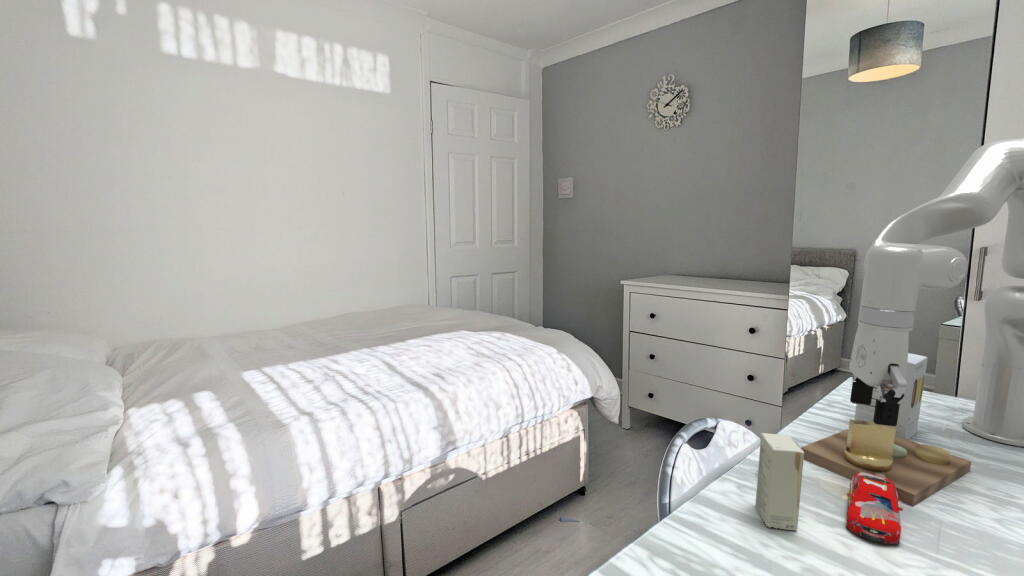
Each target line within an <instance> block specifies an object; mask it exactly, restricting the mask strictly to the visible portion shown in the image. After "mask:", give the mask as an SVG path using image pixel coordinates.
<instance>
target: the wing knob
mask: <svg viewBox="0 0 1024 576" xmlns="http://www.w3.org/2000/svg"><path fill="white" fill-rule="evenodd" d="M847 429H848V437H847V446H845V452H844V457H845V459H846V460H848V461H849V462H850V463H852V464H854V465H856V466H859V467H862V468H865V469H869V470H874V471H889V470H891V469H892V464H893V457H892V453H893V446H894V438H895V431H896V427H894V426H887V425H878V424H875V423H874V422H871V421H861V420H854V419H852V418H850V419H849V422H848V428H847Z"/></svg>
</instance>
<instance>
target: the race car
mask: <svg viewBox="0 0 1024 576" xmlns="http://www.w3.org/2000/svg"><path fill="white" fill-rule="evenodd" d="M850 480H851V479H850ZM848 491H849V492H848V493H847V494H846V495H847V496H848V497H847V498H848V499H847V500H848V501H847V509H846V528H847V529H849V530H850V531H852V532H853V533H855V535H858V536H860V537H863V538H865V539H868V540H871V541H872V542H876V543H881V544H885V545H899V544H900V539H901V534H902V525H901V515H900V512H903V511H904V508H903V507H899V500H898V493H897V491H896V488H895V485H894V483H893V482H892V481H890V480H888V479H887V478H884V477H880V476H877V475H873V474H869V473H864V472H859V473H856V474H855V475H854V476H853V478H852V480H851V481H850V484H849V490H848Z"/></svg>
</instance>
